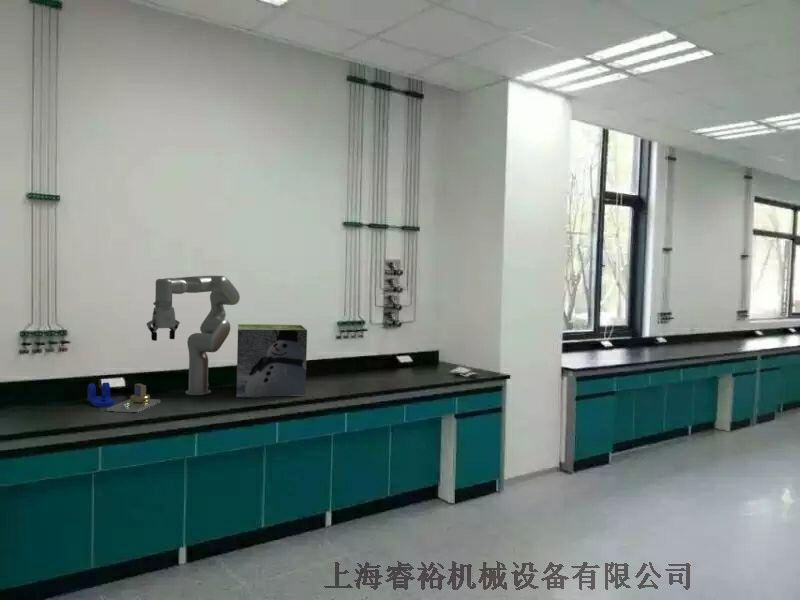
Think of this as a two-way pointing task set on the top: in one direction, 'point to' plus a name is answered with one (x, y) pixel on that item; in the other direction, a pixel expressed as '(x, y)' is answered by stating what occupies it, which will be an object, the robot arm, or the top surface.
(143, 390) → the footscrew knob
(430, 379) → the top surface
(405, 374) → the top surface
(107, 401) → the bracket
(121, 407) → the plate
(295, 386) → the photo cube
